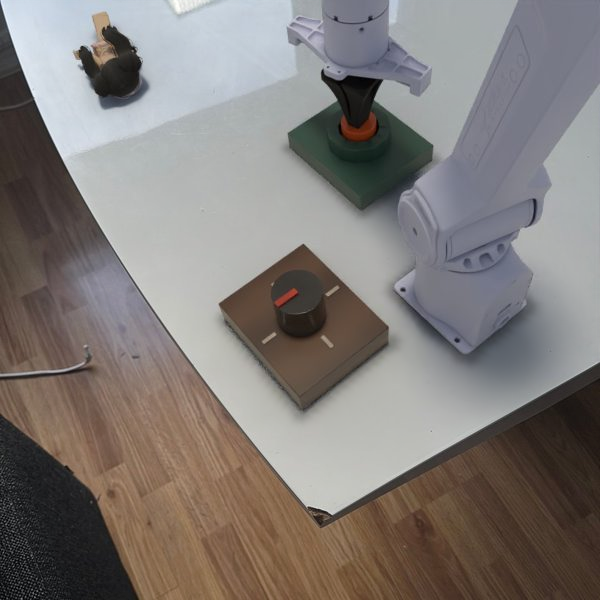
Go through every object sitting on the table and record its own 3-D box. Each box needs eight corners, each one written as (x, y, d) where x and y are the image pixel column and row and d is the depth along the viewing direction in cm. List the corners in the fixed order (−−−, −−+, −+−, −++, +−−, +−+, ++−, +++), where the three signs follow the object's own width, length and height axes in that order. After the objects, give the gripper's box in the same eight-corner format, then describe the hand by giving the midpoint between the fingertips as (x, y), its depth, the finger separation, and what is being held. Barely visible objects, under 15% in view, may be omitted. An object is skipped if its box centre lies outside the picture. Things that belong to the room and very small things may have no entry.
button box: (432, 159, 70) (435, 132, 66) (360, 210, 67) (360, 185, 64) (358, 102, 75) (357, 74, 72) (289, 147, 73) (285, 120, 69)
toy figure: (67, 48, 86) (102, 113, 78) (52, 2, 81) (88, 66, 73) (120, 33, 88) (159, 95, 80) (108, -13, 82) (149, 48, 75)
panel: (388, 342, 60) (389, 326, 57) (302, 410, 57) (299, 396, 54) (306, 260, 65) (303, 241, 62) (224, 319, 62) (217, 302, 60)
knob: (305, 284, 60) (301, 258, 56) (336, 316, 58) (333, 291, 54) (267, 312, 59) (259, 287, 55) (296, 346, 57) (291, 322, 53)
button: (383, 133, 68) (383, 120, 67) (357, 151, 67) (356, 139, 66) (360, 115, 70) (360, 102, 68) (334, 132, 69) (333, 120, 68)
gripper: (259, 2, 57) (278, 118, 68) (403, 59, 52) (398, 175, 63) (307, -42, 59) (318, 77, 71) (449, 8, 54) (436, 128, 66)
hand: (358, 120), depth 67 cm, fingers closed, pressing on button
